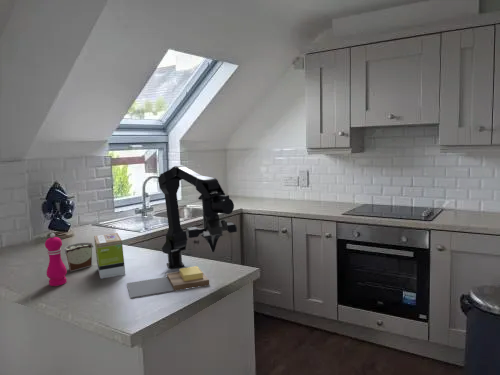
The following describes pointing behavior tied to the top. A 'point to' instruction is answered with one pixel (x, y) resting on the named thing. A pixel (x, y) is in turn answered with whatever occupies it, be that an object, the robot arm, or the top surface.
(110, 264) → the tea box
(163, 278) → the mat
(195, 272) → the butter block
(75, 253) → the food container
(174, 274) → the cutting block
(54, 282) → the pepper mill
